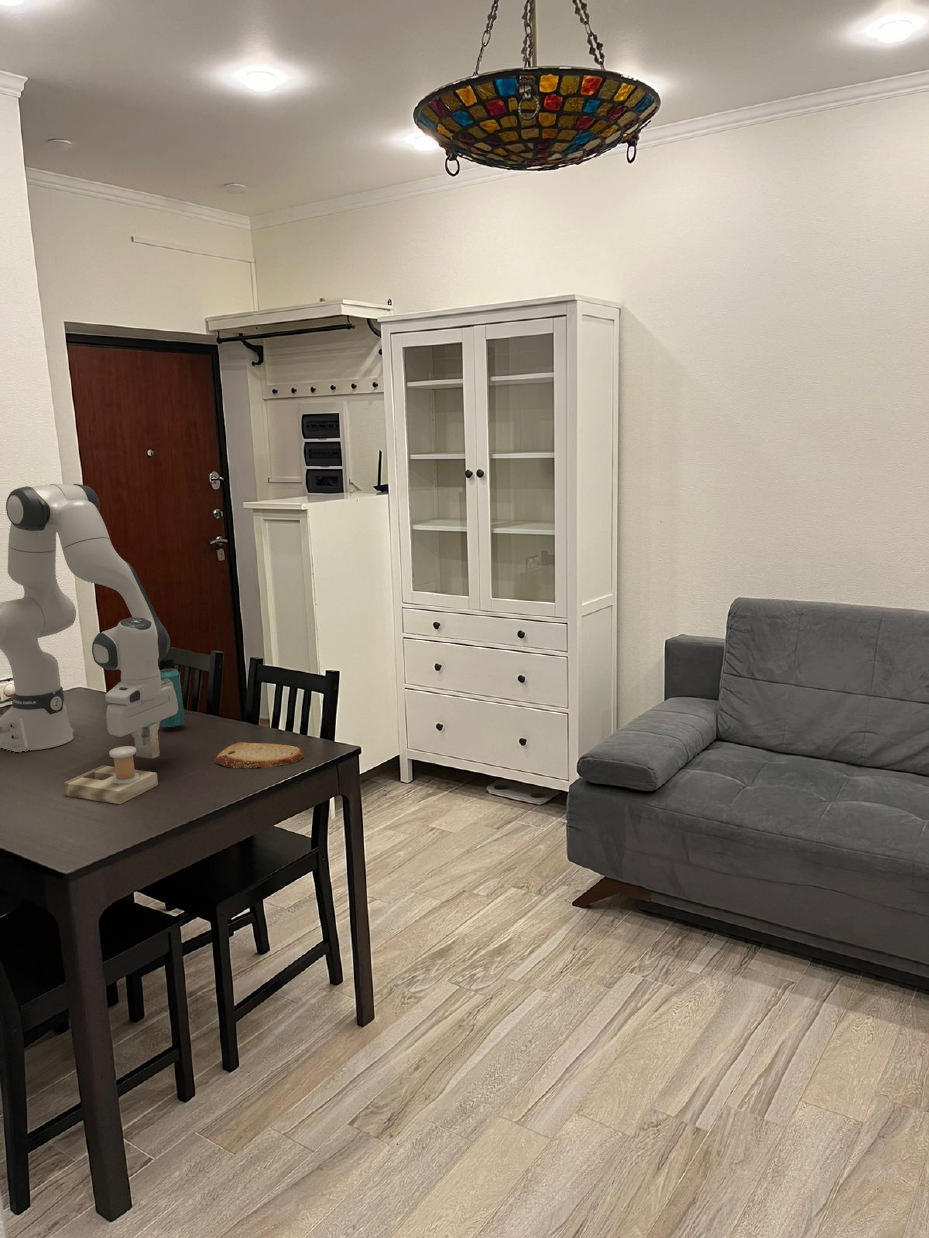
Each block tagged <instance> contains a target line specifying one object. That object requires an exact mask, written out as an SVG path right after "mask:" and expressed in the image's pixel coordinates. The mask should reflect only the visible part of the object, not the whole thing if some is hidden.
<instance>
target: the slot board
mask: <svg viewBox="0 0 929 1238" xmlns="http://www.w3.org/2000/svg"><path fill="white" fill-rule="evenodd" d="M134 771H135V773H138V774H139V779H138V780H137V781H135V782H133V783H129V784H122V785H119V784H114V783H113V780H112V778H113V777H114V776H115V775H116V772H115V766H110V765H100V766H99V767H95V768H93V769H91V770H89V771H87V772H85V773H83V774H80V775H78V776H76V777H74V778H71V779H69V780H66V781H64V782H63V790H64V796H66V797H73V798H77V797H78V798H79V799H85V800H90V801H96V802H97V801H98V802H104V803H108V804H109V803H110V804H116V805H121V804H124V803H126V802H128V801H130V800H132V799H133V798H135V797H137V796H139V795H141V794H144V793H145V792H147V791H149V790H151V789H153V788H155V787H158V786H159V784H158V773H157V772H153V771H145V770H139V769H134Z"/></svg>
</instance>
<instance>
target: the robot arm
mask: <svg viewBox="0 0 929 1238" xmlns="http://www.w3.org/2000/svg"><path fill="white" fill-rule="evenodd" d="M5 502H6V503H5V511H6V515H7V518H8V520H9V521H10V526H9V527H10V528H9V533H8V548H7V549H8V550H7V574H8V575H9V578H10V579H11V580H12V582H15V583H16V584H18V585H20V586H22V587H23V597H22V598H17V599H12V600H6V601H2V602H0V651H1V652H2V653H3V654H4V656H5V657H6V659H7V660H8V663H9V665H10V670H11V673H12V679H13V685H14V693H12V694H9V695H8V697H9V698H8V700H12V701H11V706H10V707H9V709H8V710H7V711H6V712H4V714H3V713H2V715H1V716H0V747H2V748H4V749H9V750H12V751H14V752H13V753H15V752H19V753H23V752H22V751H25V752H29V751H28V750H30V751H37V750H44V749H51V748H55V747H58V746H61V745H62V746H63V745H65V744H67V743H70V742H71V741H73V739H74V737H75V736H74V732H75V731H74V729H73V727H71V723H70V718H69V715H68V714H69V713H68V711H67V706H66V705H65V703H64V701H65V691H64V687H62V685H61V675H60V669H59V668H60V667H59V662H58V660H57V658H56V657H55V656H54V655H52V654H51V653H48V652H46V651H44V650H42V648H41V647H40V644H39V641H38V640H39V639H40V638H44V637H48V636H52V635H57V634H59V633H61V632H63V631H65V630H66V629H68V628H71V627H72V626H73V624H74V623H75V621H76V618H77V617H76V616H77V609H76V606H75V604H74V602H73V600H72V599H71V598H70V597H69V596H68V595H66V594H65V593H64V592H63V591H62V590H61V588H60V586H59V584H58V581H57V579H58V578H57V575H56V574H57V572H56V568H57V567H56V562H57V561H56V557H57V535H58V538H59V542H60V547H61V551H62V553H63V556H64V559H65V563H66V565H67V567H68V570H70V572H71V573H72V574H73V575H74V576H76V577H77V578H78V579H80V580H82V581H84V582H87V583H92V584H97V585H99V586H100V585H101V586H104V587H107V588H110V589H113V590H114V591H117V593H119V595H121V597H122V598H123V601H124V602H125V604H126V606H127V608H128V610H129V612H130V614H131V617H127V618H124V619H121V620H120V621H119V622H118V624H117V625H116V626H115V627H113V628H110V629H107V630H103V631H102V632H98V633H97V634H96V636H95V637H94V639H93V641H92V645H91V652H92V658H93V661H94V663H95V664H97V665H98V666H99V667H100V668H102V669H104V670H106V671H110V670H111V671H115V670H120V681H119V682H117V684H116V685H114V687H113V688H111V689H110V690H109V691H107V692H106V694H105V702H106V703H108V705H106V706H107V707H106V715H105V716H106V727H107V732H108V733H109V734H110V735H111V736H113V737H120V738H122V737H125V736H127V735H131V736H132V738H133V739H135V740H134V744H135V743H136V746H138V747H141V746H144V745H145V744H146V742H145V738H142V736H141V735H140V733H141V732H142V730H141V729H142V728H144V727H146V726H148V725H151V724H153V723H157V729H158V730H159V728H160V725H161V722H160V721H161V720H163V719H166V718H168V717H170V716H173V715H175V714H176V713H177V711H178V703H177V697H176V693H175V690H174V688H173V682H172V681H171V680H169V679H168V678H165V679H163V680H161V675H160V667H159V662H160V661H161V660H162V659H163V658H165V657H167V656H166V655H167V654H168V652H169V651H170V646H171V638H170V635H169V633H168V631H167V629H166V627H165V626H164V625H163V624H162V622H161V621H160V618H159V617H158V616H157V615H158V614H157V613H156V611H155V609H154V607H153V605H152V603H151V601H150V598H149V597H148V594H147V592H146V591H145V588H144V587H143V584H142V582H141V580H140V579H139V576H138V574H137V573H136V571H135V569H134V567H133V566H132V565H131V563H129V562H127V561H125V560H124V559H123V558H122V557H121V556H120V555H119V554H118V553H117V551H116V549H115V548H114V546H113V544H112V541H111V538H110V535H109V532H108V528H107V527H106V524H105V522H104V519H103V517H102V515H101V513H100V501H99V497H98V495H97V493H96V492H95V491H94V489H93V488H91V486H88V485H84V484H79V483H74V484H67V483H49V484H43V485H36V486H34V485H33V486H21V487H19V488H15V489H13V490H12V491H10V492H9V494H8V497H7V499H6V501H5ZM4 749H3V750H4Z"/></svg>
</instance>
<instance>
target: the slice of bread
mask: <svg viewBox="0 0 929 1238" xmlns="http://www.w3.org/2000/svg"><path fill="white" fill-rule="evenodd" d="M303 757H304V758H305V756H304V753H303V751H302V750H301V749H300V748H299V747H297V746H293V745H288V744H280V743H267V742H266V743H263V742H262V743H258V742H241V741H238V742H236V743H233V744H231V745H229V746H227V747H225V748H224V749H223V750H221V751H220V752H219V753H218V754H217V756H216V757H215V760H214V764H215V765H220V766H223V767H224V768H228V767H231V768H230V769H238V768H246V770H248V769H247V768H255V769H258V768H257V767H270V768H273V767H272V766H277V765H282V764H285V763H292V762H295V761H297V760H300V761H302V760H303V759H302V758H303ZM301 759H302V760H301ZM295 763H296V762H295ZM292 764H293V763H292Z"/></svg>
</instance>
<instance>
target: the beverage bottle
mask: <svg viewBox="0 0 929 1238" xmlns="http://www.w3.org/2000/svg"><path fill="white" fill-rule="evenodd" d="M174 666H175V660H174V657H172V656H171V657H170V656H165V657H164V658H163V659H162V660H161V661H160V662H158V667H159V668H162V669H161V670H160V669H159V670H160V675H161V680H163V679H165V678H168V679H169V680H171V681H172V682H173V688H174V690H175V693H176V697H177V703H178V711H177V713H176V714H175V715H173V716H170V717H168V718H166V719H163V720H161V721H159V722H160V725H161V726H162V727H164V728H171V727H172V728H173V727H179V726H182V725H183V724H185V719H186V717H185V712H184V711H185V709H184V704H183V703H184V701H183V699H184V698H183V693H182V685H181V677H180V676H181V675H180V674H181V673H180V672H179V671H178V670H177V669H175V668H170V667H174Z"/></svg>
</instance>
